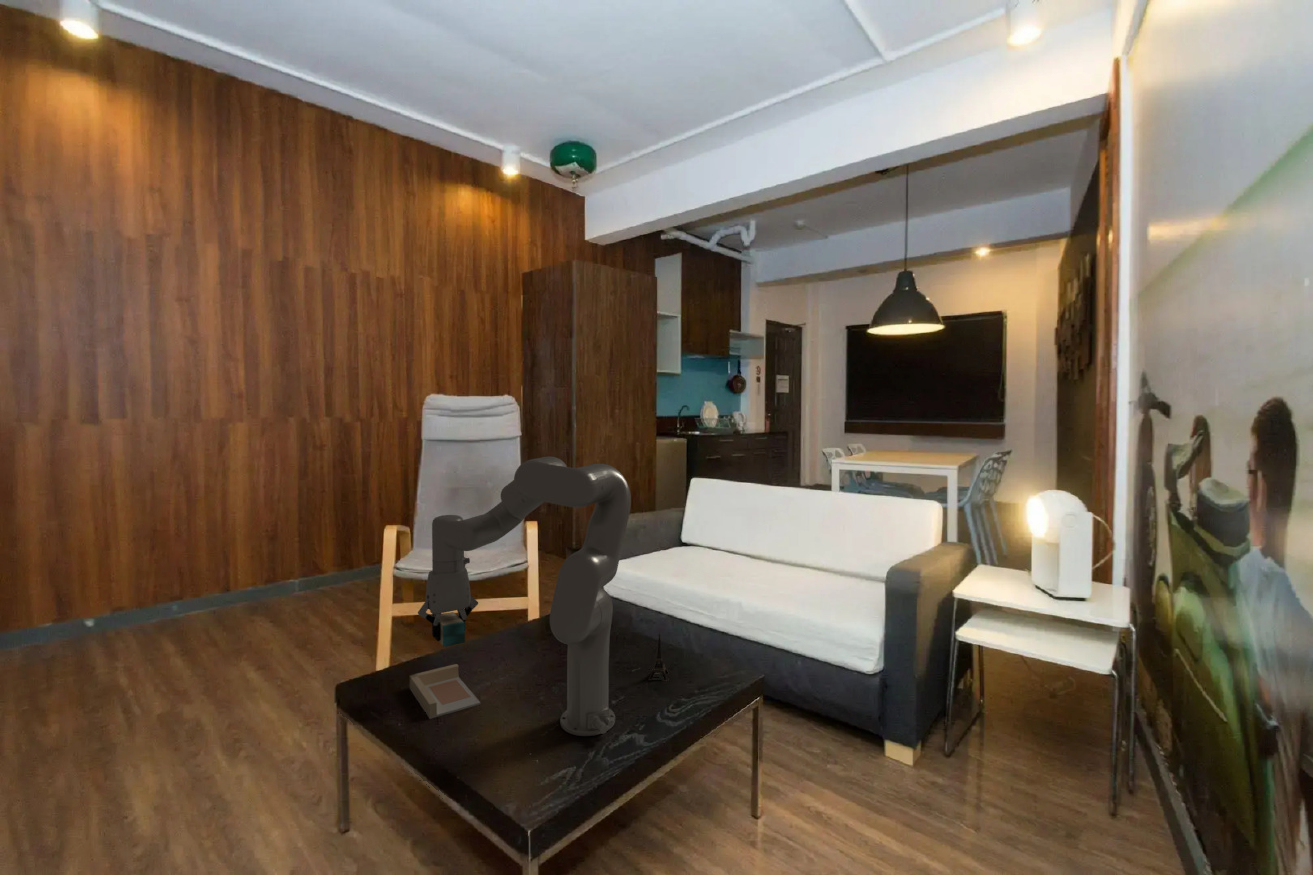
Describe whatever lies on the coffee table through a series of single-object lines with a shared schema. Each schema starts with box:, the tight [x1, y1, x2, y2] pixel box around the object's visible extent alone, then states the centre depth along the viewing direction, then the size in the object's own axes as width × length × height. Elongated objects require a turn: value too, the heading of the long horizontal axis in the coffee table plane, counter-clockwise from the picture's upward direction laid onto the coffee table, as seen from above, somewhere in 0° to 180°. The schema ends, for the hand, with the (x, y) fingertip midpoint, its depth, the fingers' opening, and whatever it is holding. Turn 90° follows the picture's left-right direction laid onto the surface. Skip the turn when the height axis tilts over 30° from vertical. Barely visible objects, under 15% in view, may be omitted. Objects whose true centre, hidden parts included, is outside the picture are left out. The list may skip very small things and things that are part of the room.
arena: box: [409, 663, 481, 720], centre depth 152 cm, size 18×12×4 cm, turn 36°
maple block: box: [438, 611, 466, 648], centre depth 153 cm, size 5×9×5 cm, turn 36°
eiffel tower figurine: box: [631, 630, 669, 682], centre depth 165 cm, size 15×10×13 cm
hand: (448, 636), depth 153 cm, fingers closed on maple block, 5 cm apart
